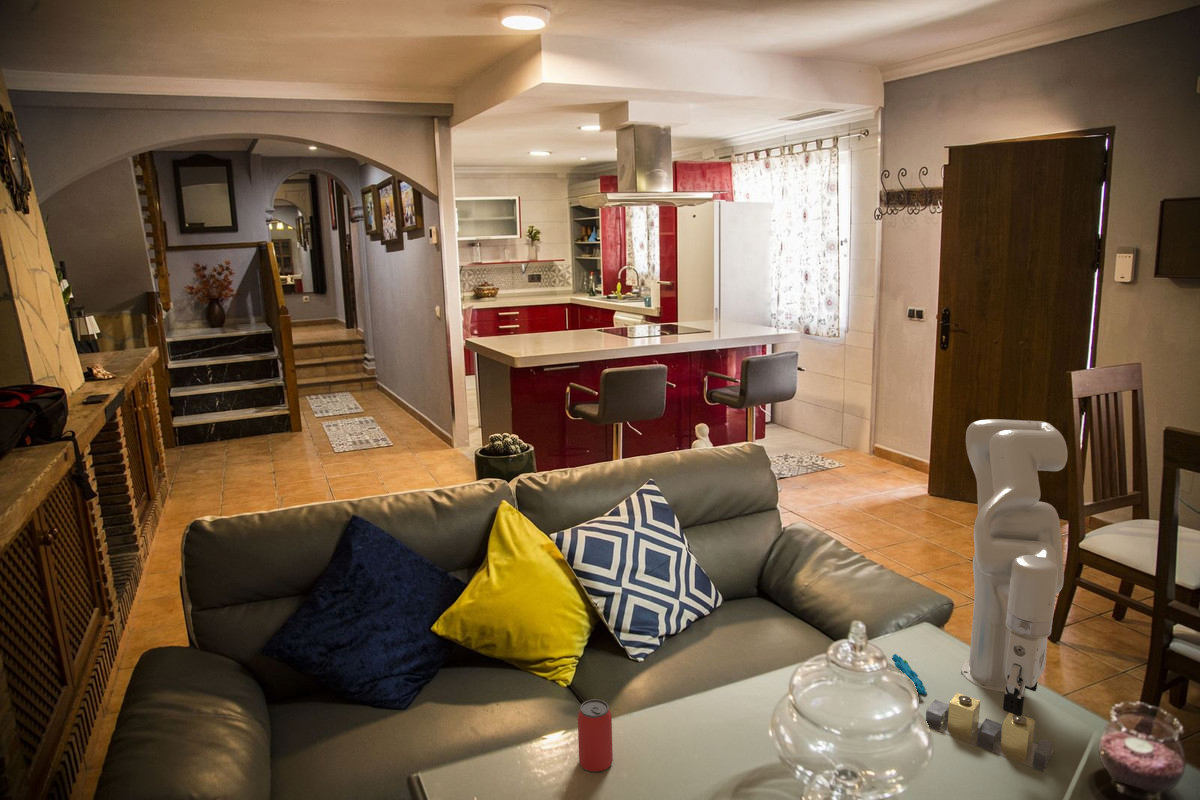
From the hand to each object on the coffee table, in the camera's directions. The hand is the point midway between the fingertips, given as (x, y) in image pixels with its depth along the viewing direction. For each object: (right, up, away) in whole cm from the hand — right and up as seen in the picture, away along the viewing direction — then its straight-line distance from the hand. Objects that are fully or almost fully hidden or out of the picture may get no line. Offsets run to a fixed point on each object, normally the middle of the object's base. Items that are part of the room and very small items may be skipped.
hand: (1019, 700), depth 151 cm
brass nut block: (0, -10, +1) cm, 10 cm away
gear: (-12, -7, +24) cm, 27 cm away
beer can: (-82, -13, +2) cm, 83 cm away
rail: (-4, -10, +5) cm, 12 cm away
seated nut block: (-7, -9, +8) cm, 14 cm away
